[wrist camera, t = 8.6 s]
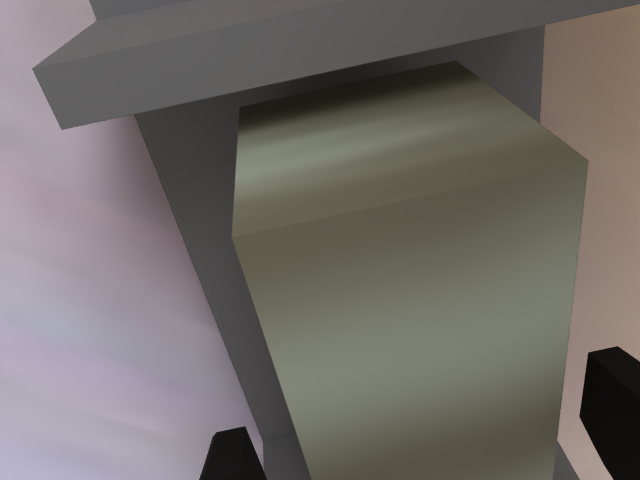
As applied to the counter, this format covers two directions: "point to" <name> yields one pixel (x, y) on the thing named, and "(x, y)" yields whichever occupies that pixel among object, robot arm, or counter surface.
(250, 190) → the olive green rectangular block
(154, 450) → the counter surface
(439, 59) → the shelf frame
